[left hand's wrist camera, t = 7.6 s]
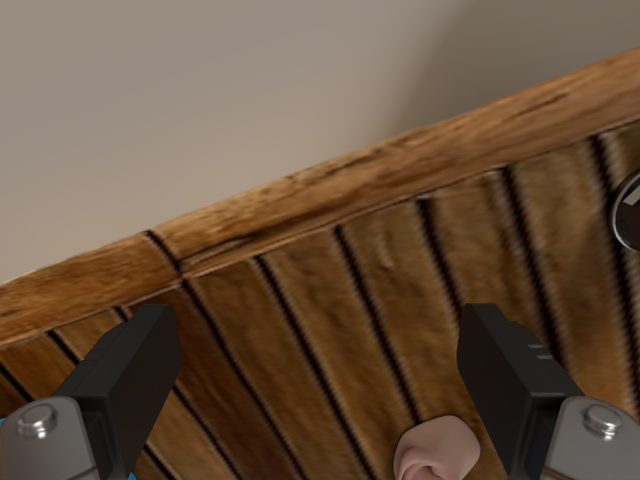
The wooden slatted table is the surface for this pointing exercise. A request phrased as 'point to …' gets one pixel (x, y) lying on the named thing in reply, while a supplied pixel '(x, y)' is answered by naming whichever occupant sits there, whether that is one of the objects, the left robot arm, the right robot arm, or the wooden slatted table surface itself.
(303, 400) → the wooden slatted table surface
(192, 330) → the wooden slatted table surface
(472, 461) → the anatomical model
